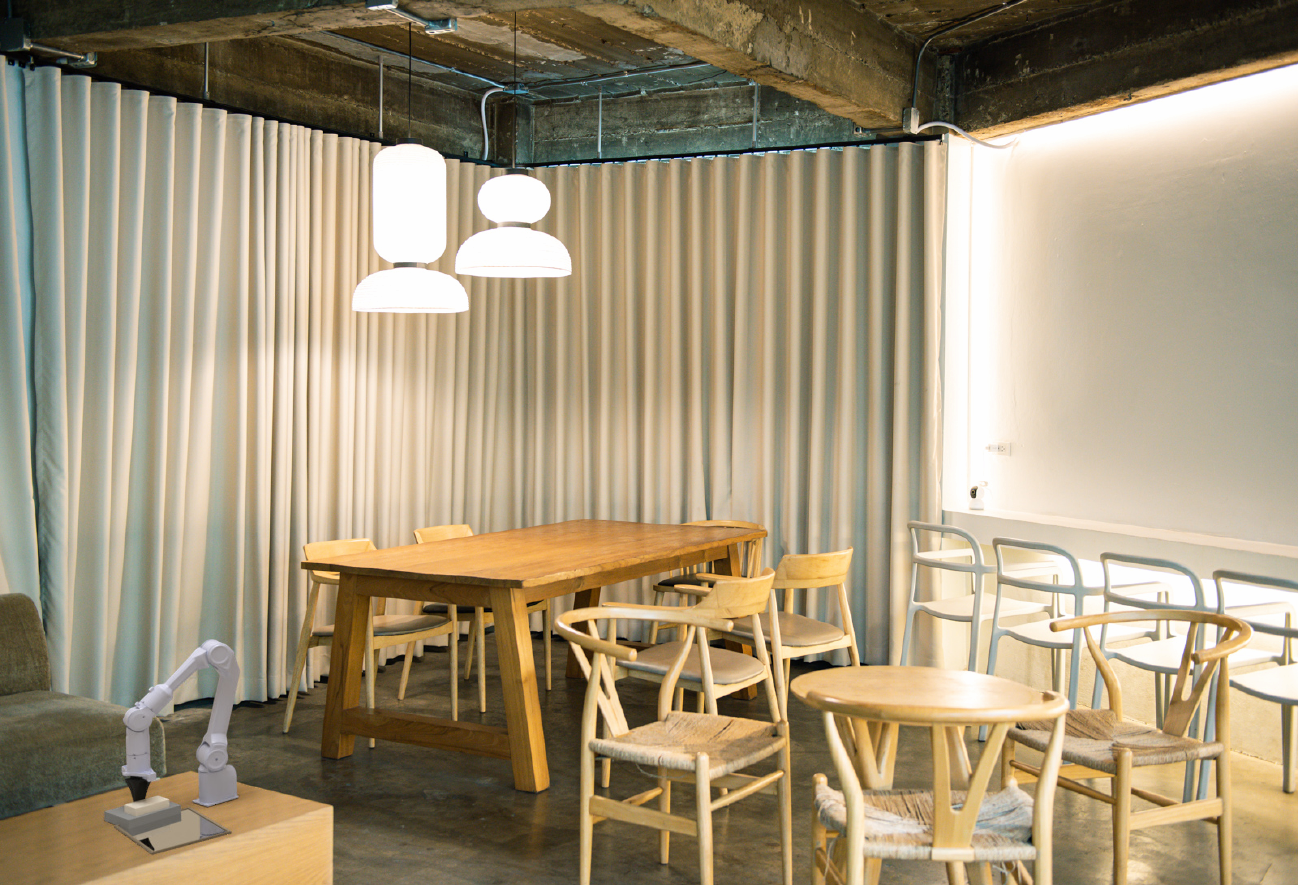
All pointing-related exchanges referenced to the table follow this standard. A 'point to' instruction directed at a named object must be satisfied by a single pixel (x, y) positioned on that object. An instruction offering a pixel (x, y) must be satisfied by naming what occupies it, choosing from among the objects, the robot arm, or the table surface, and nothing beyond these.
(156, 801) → the tile
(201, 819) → the picture frame
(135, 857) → the table surface
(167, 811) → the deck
